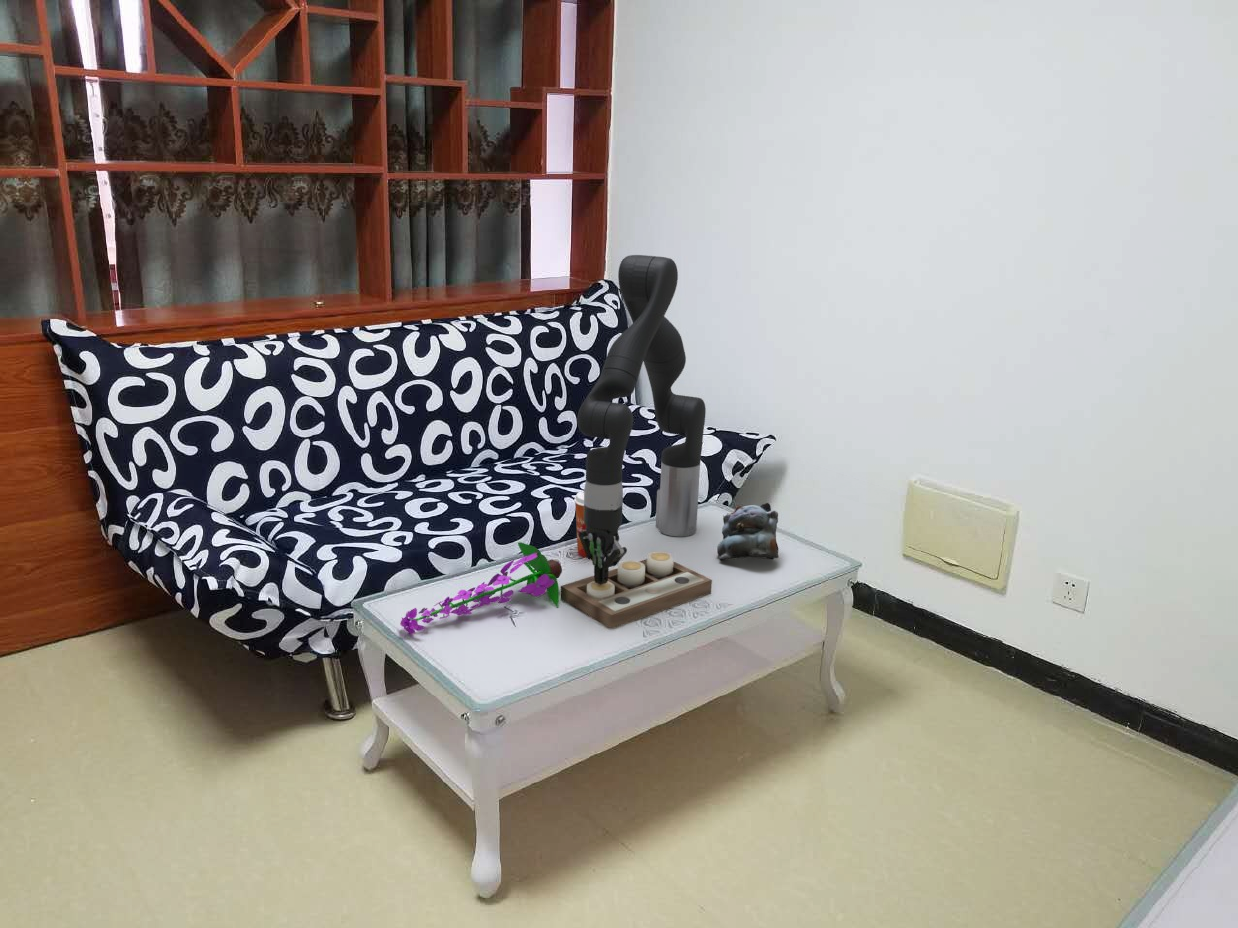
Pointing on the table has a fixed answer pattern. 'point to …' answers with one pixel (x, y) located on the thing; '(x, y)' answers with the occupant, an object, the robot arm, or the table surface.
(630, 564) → the button mid
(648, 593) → the wooden candle tray
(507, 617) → the table surface
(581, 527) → the paper cup
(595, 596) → the button
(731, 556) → the lucky cat figurine
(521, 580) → the purple flower sprig
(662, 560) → the button
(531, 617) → the table surface
